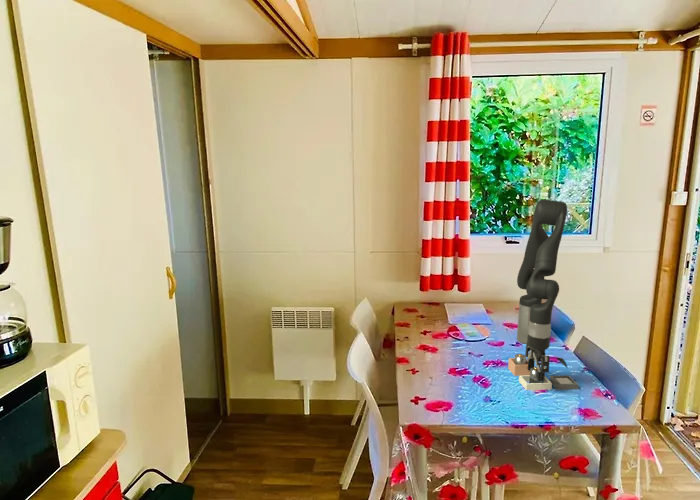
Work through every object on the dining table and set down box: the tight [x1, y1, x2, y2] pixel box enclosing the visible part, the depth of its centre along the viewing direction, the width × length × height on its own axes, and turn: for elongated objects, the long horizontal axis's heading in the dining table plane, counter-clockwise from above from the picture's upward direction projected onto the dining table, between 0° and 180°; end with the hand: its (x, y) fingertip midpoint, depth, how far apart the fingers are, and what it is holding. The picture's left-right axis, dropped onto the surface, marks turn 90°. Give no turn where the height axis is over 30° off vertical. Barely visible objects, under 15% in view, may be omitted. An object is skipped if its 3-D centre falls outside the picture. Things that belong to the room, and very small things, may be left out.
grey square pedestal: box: [548, 374, 580, 391], centre depth 178 cm, size 7×8×3 cm
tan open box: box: [507, 357, 530, 377], centre depth 189 cm, size 6×6×5 cm
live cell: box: [528, 366, 542, 383], centre depth 178 cm, size 4×4×7 cm
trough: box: [518, 375, 553, 391], centre depth 178 cm, size 7×9×3 cm
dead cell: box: [514, 353, 527, 365], centre depth 188 cm, size 4×4×7 cm
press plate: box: [555, 378, 572, 384], centre depth 178 cm, size 5×5×1 cm
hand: (535, 375), depth 178 cm, fingers open, 8 cm apart
